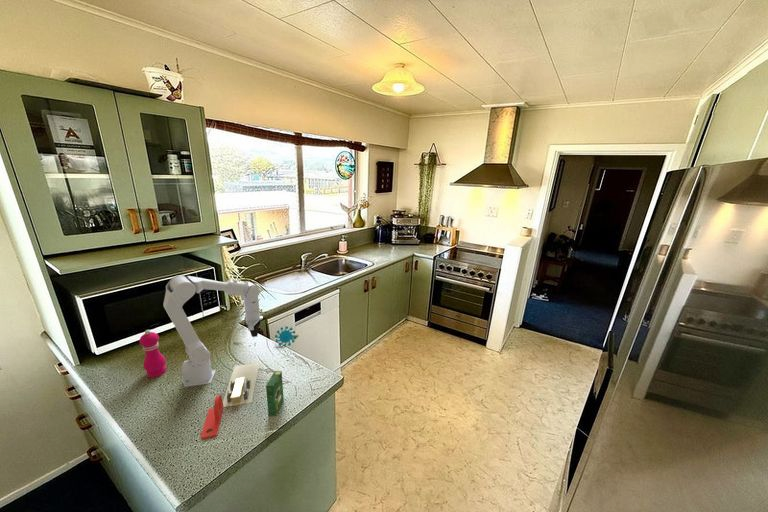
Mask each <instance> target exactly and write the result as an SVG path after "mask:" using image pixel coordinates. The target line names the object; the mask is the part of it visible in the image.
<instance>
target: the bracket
mask: <svg viewBox="0 0 768 512" xmlns="http://www.w3.org/2000/svg"><path fill="white" fill-rule="evenodd" d="M223 401H224V400H223V397H222V395H221V394H220V395H216V396H215V398H214V402H213V403H214V404H213V407H212V408H208V410H207V413H206V414H207V416H206V418H205V420H204V421H205V422H204V424H203V428H202V432H201V434H200V436H201V437H200V438H201V439H202V440H205V439H210V438H215V437H217V436H218V432H219V429H220V428H219V427H220V424H221V420H222V415H223V412H224V407H223ZM209 431H211V432H209Z"/></svg>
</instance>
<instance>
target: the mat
mask: <svg viewBox="0 0 768 512" xmlns="http://www.w3.org/2000/svg"><path fill="white" fill-rule="evenodd" d="M259 367H260V362H257V363H256V362H255V363H248V364H240V365H239V364H238V365H234V367H233V370H232V372H231V373H232V374H231V376H230V380H229V382H228V385H227V388H226V392H225V395H224V397H223V400H222V401H223V408H226V407H232V406H238V405H246V404H250V403H252V401H253V396H254V393H255V392H254V391H255V388H256V387H255V386H256V383H257V377H258V371H259ZM243 377H244V378H245V387H244V389H246V379H248V378H249V379H250V380H251V386H250V389H248V393H249V395H248V399H246V400H244V395H242V399H241V403H238V404H232V400H231V402H227V392H228V391H231V389H230V384H231V383H230V382H231V381H235V382H236V379H237V378H243ZM232 393H233V391H232ZM243 394H244V391H243Z"/></svg>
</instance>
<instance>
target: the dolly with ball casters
mask: <svg viewBox="0 0 768 512" xmlns="http://www.w3.org/2000/svg"><path fill="white" fill-rule="evenodd" d="M229 382H230V381H229ZM230 383H231V384H230V389H231V391H228V392H227V402H231V396H232V391H233V389H234V386H235V381H231V382H230ZM250 386H251V380H250V379H249V378H248V379H246V389H244V394H243V395H244V400H246V399H248V395H249V393H248V389H250Z"/></svg>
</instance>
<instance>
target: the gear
mask: <svg viewBox="0 0 768 512" xmlns="http://www.w3.org/2000/svg"><path fill="white" fill-rule="evenodd" d="M279 329H280V330H276V334H275V335H274V338H276V339H275V343H276V344H277V343H278V346H280V347H281V346H282V347H286V346H287V345H288V346H289V347H290V346H292V344H291V343H294V342H296V341H295V340H296V339H297V338H298V337H299V334H296V330H293V327H290V328H289V326H285V329H284V327H280V328H279ZM280 331H281V332H280ZM277 334H278V335H277ZM295 334H296V335H295ZM282 344H283V345H282Z"/></svg>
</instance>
